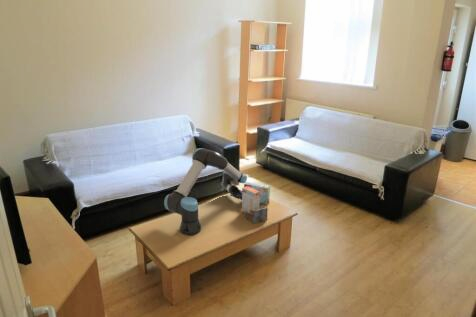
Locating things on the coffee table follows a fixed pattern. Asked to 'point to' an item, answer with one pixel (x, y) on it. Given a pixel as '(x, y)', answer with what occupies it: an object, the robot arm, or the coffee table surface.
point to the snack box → (261, 191)
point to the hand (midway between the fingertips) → (246, 200)
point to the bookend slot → (257, 215)
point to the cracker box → (250, 200)
